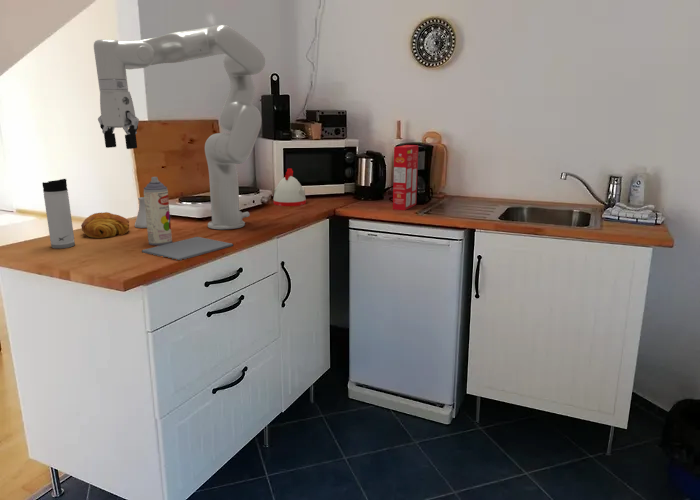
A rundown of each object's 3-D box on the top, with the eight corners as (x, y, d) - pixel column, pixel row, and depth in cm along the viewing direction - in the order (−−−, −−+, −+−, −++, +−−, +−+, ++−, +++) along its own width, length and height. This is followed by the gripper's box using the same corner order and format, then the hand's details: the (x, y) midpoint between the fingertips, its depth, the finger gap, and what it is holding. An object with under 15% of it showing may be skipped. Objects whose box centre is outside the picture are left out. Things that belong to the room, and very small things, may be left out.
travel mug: (66, 249, 156) (57, 180, 150) (46, 248, 157) (36, 180, 151) (80, 244, 161) (72, 177, 156) (61, 243, 163) (51, 177, 157)
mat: (197, 238, 169) (197, 236, 169) (233, 245, 160) (233, 243, 160) (142, 252, 153) (141, 250, 153) (178, 260, 144) (178, 258, 144)
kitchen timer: (309, 201, 236) (309, 167, 232) (300, 207, 223) (299, 170, 219) (280, 200, 239) (279, 166, 235) (268, 205, 226) (267, 169, 222)
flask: (140, 229, 181) (137, 200, 179) (130, 226, 186) (127, 197, 183) (160, 226, 186) (158, 197, 184) (150, 223, 191) (147, 195, 188)
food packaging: (404, 203, 231) (406, 144, 225) (416, 204, 229) (418, 145, 223) (392, 209, 218) (394, 147, 212) (404, 210, 216) (406, 147, 210)
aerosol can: (165, 245, 160) (159, 178, 154) (144, 244, 161) (137, 178, 156) (176, 240, 166) (170, 176, 161) (155, 239, 167) (149, 175, 162)
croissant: (79, 246, 167) (75, 222, 164) (87, 229, 181) (83, 207, 178) (129, 242, 171) (125, 219, 168) (133, 226, 185) (129, 204, 182)
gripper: (144, 86, 150) (151, 148, 154) (107, 87, 159) (114, 145, 163) (120, 85, 144) (128, 150, 148) (83, 87, 153) (91, 148, 157)
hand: (121, 147), depth 156 cm, fingers open, 9 cm apart
